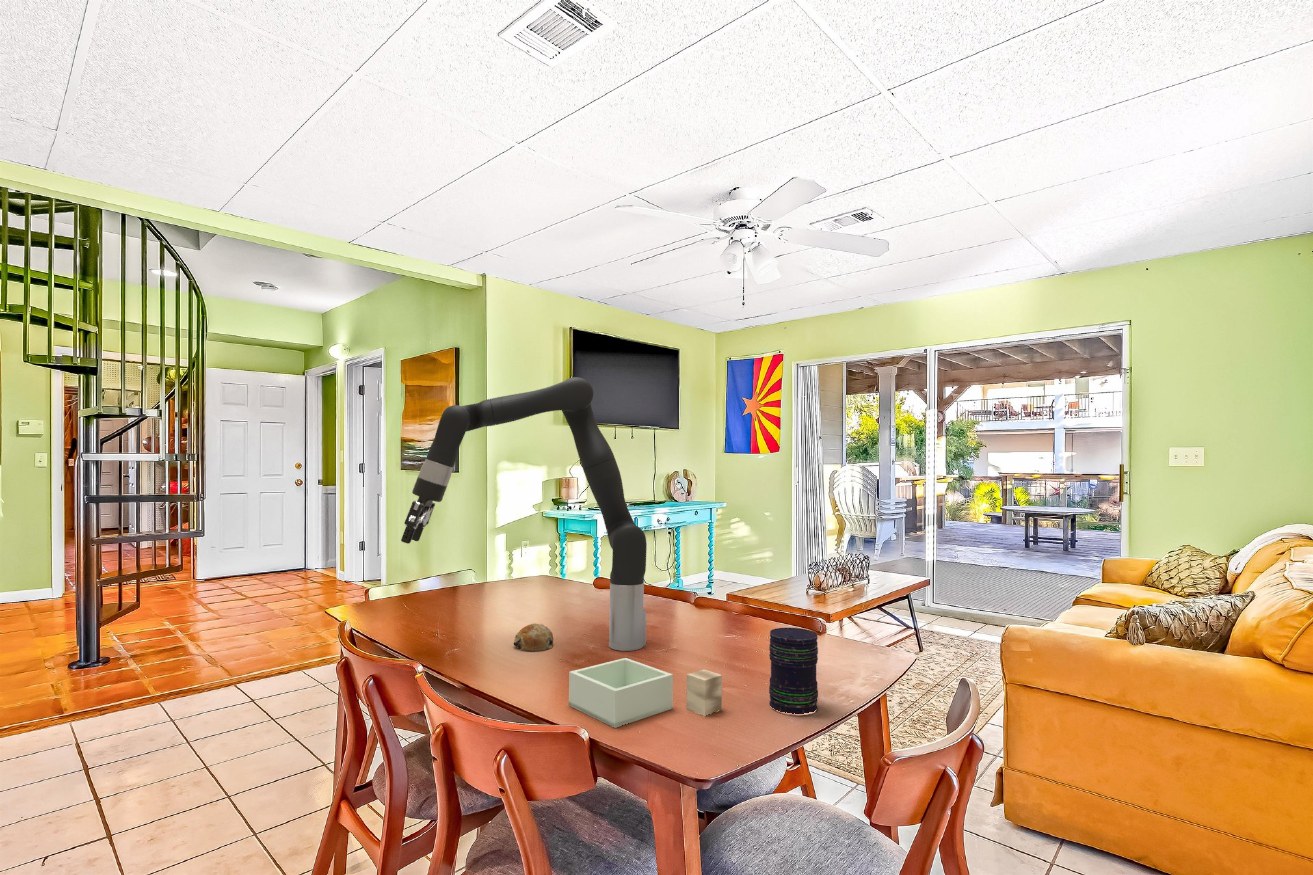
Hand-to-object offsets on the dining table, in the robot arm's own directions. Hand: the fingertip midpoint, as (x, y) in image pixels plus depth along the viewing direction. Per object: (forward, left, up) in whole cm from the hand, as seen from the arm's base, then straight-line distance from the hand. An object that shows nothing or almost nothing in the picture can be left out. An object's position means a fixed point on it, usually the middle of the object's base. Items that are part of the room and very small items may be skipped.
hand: (409, 541), depth 163 cm
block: (-33, +71, -29) cm, 83 cm away
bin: (-21, +59, -29) cm, 69 cm away
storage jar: (-48, +82, -30) cm, 99 cm away
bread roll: (-30, +10, -30) cm, 44 cm away
